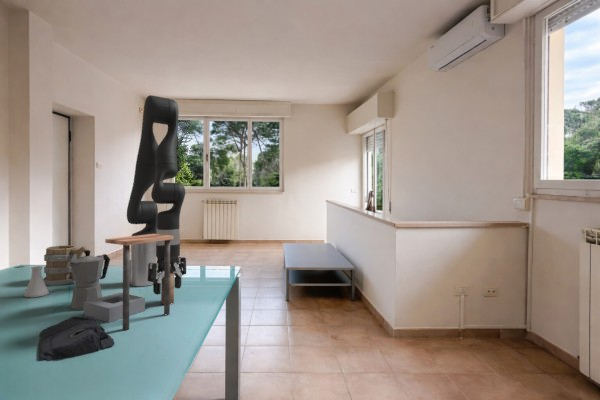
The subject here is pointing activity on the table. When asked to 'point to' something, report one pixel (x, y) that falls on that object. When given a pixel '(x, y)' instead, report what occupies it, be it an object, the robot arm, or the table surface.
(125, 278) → the small wooden table
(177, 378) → the table surface
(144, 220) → the robot arm
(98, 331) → the dark slate chunk
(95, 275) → the coffeepot
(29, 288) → the flask
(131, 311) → the socket
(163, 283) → the peg
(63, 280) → the tankard
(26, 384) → the table surface
